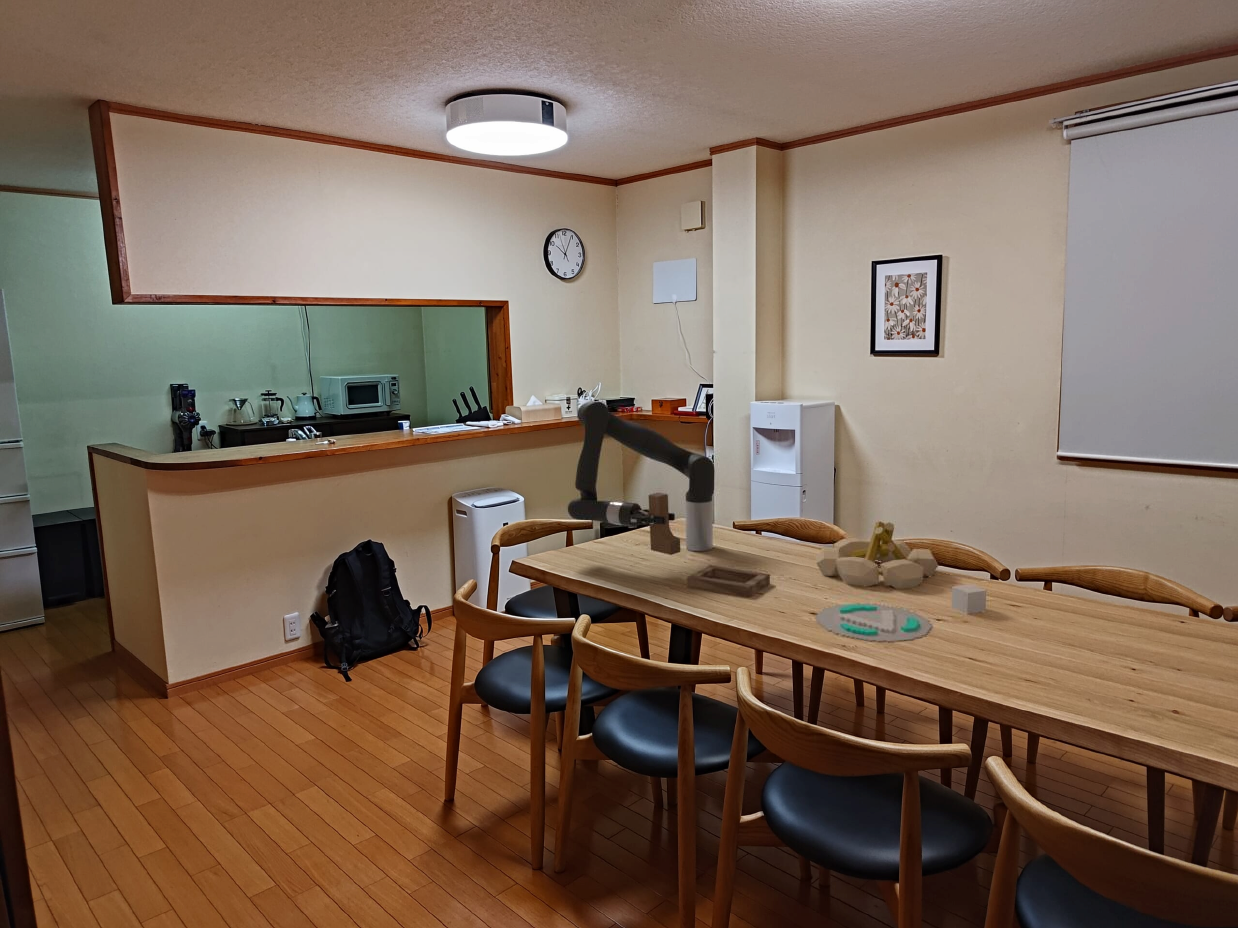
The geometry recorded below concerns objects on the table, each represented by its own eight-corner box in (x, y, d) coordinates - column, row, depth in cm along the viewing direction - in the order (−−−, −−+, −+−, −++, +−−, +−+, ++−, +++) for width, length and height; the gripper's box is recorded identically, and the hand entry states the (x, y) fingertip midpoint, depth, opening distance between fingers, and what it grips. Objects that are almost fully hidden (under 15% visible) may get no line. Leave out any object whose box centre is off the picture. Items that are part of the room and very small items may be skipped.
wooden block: (681, 552, 254) (678, 495, 251) (671, 555, 251) (668, 498, 248) (660, 547, 261) (658, 492, 257) (650, 550, 258) (647, 494, 254)
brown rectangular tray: (710, 574, 257) (710, 565, 256) (769, 583, 246) (769, 573, 245) (687, 586, 244) (687, 577, 244) (748, 597, 233) (748, 587, 233)
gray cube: (969, 605, 223) (970, 584, 222) (985, 612, 217) (986, 590, 216) (951, 607, 221) (952, 586, 220) (967, 614, 215) (968, 592, 215)
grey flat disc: (847, 648, 195) (847, 641, 195) (799, 610, 223) (800, 605, 222) (953, 637, 201) (953, 631, 200) (894, 602, 228) (894, 597, 228)
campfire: (912, 598, 230) (914, 539, 228) (800, 579, 251) (801, 524, 248) (948, 569, 258) (950, 516, 255) (845, 553, 278) (846, 504, 276)
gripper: (611, 506, 256) (657, 511, 247) (635, 498, 268) (680, 502, 259) (611, 530, 257) (658, 536, 248) (636, 520, 269) (681, 525, 260)
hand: (669, 518), depth 253 cm, fingers closed on wooden block, 5 cm apart
